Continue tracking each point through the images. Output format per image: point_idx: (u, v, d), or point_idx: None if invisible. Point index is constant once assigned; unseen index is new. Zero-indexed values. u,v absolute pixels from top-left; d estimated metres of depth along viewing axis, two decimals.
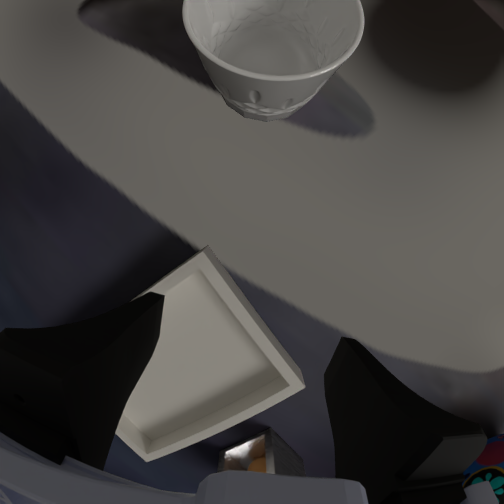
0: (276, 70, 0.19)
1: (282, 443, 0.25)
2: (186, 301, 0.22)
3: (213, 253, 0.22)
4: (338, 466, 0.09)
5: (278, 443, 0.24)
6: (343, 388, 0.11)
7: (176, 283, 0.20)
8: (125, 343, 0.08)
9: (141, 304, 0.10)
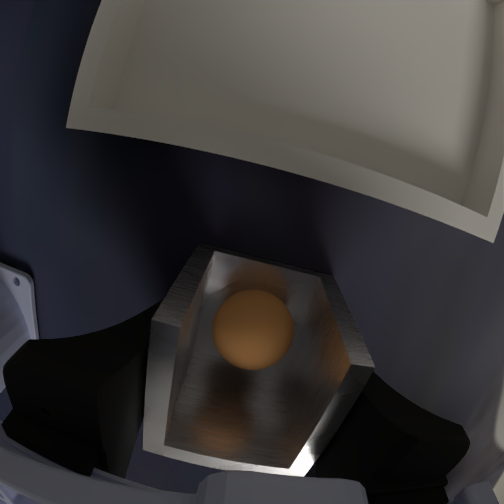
0: None
1: None
2: None
3: None
4: (318, 465, 0.09)
5: None
6: None
7: None
8: None
9: None
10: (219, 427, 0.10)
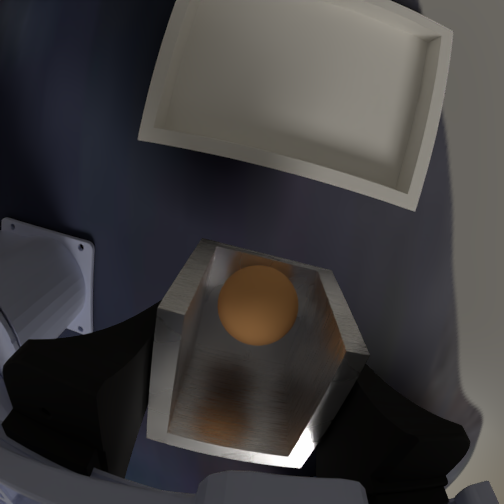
0: None
1: None
2: (386, 44, 0.15)
3: None
4: (319, 465, 0.09)
5: None
6: None
7: (415, 21, 0.13)
8: (148, 350, 0.08)
9: None
10: (220, 416, 0.11)
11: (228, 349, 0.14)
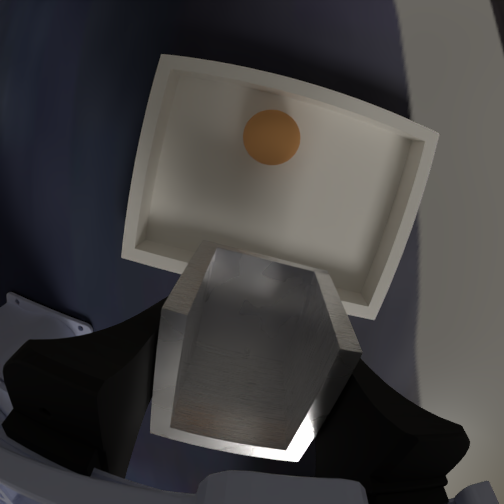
0: None
1: None
2: (365, 148, 0.18)
3: None
4: (319, 465, 0.09)
5: None
6: None
7: (398, 127, 0.15)
8: (148, 350, 0.08)
9: None
10: (221, 411, 0.11)
11: (228, 347, 0.15)
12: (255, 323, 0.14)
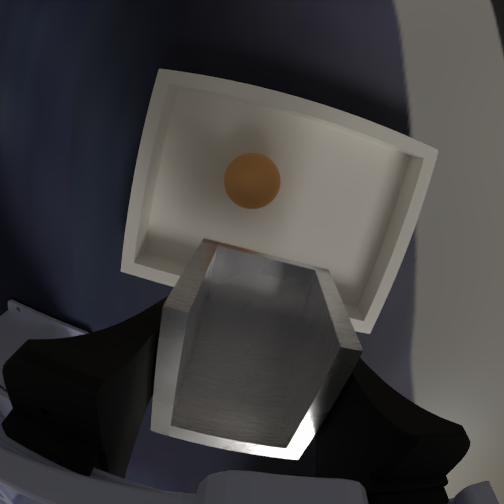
0: None
1: None
2: (364, 164, 0.18)
3: None
4: (319, 466, 0.09)
5: None
6: None
7: (397, 145, 0.15)
8: (148, 350, 0.08)
9: (161, 310, 0.10)
10: (221, 409, 0.11)
11: (228, 345, 0.15)
12: (256, 321, 0.15)
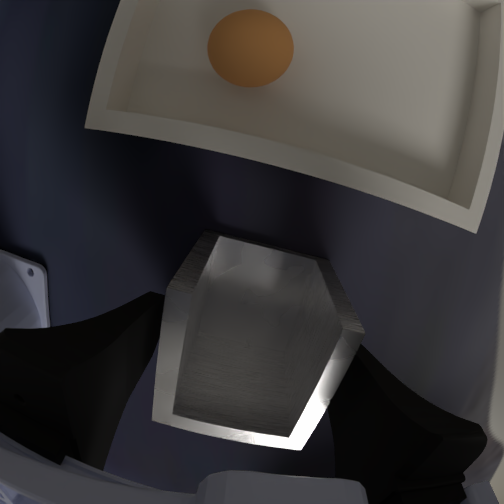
0: None
1: None
2: (433, 7, 0.09)
3: None
4: (338, 466, 0.09)
5: None
6: (343, 388, 0.11)
7: None
8: (125, 343, 0.08)
9: (141, 304, 0.10)
10: (223, 399, 0.11)
11: (230, 337, 0.15)
12: (257, 312, 0.15)
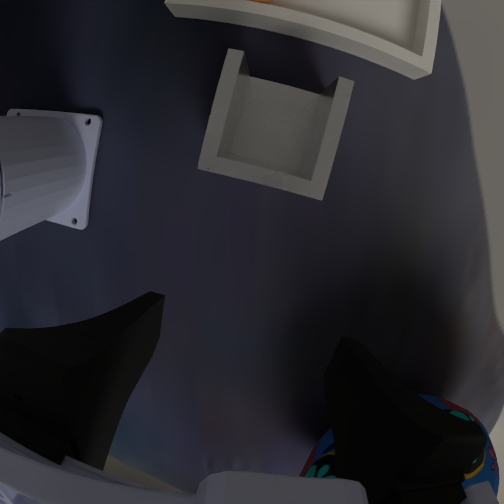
0: None
1: None
2: None
3: None
4: (338, 466, 0.09)
5: None
6: (344, 388, 0.11)
7: None
8: (125, 343, 0.08)
9: (141, 304, 0.10)
10: (255, 163, 0.15)
11: (255, 156, 0.19)
12: (277, 134, 0.18)
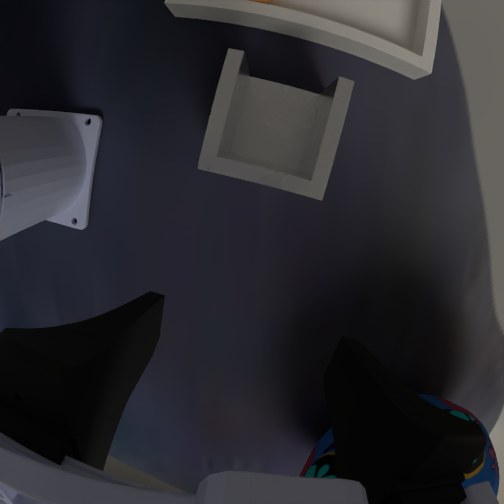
0: None
1: None
2: None
3: None
4: (338, 466, 0.09)
5: None
6: (344, 388, 0.11)
7: None
8: (125, 343, 0.08)
9: (141, 304, 0.10)
10: (255, 163, 0.15)
11: (255, 156, 0.19)
12: (277, 134, 0.18)
